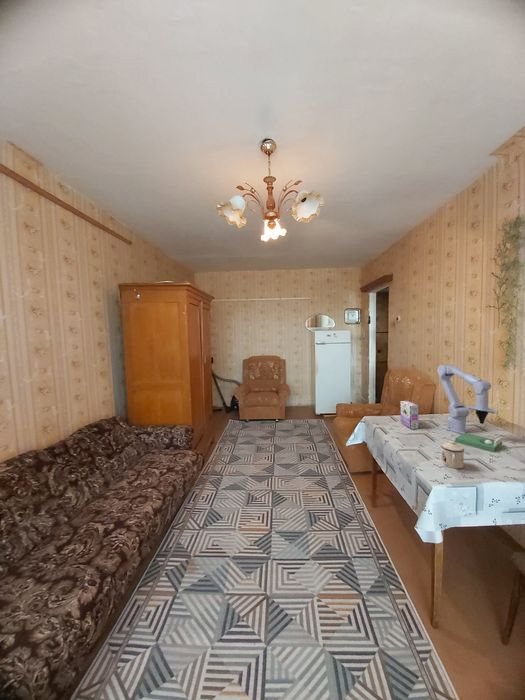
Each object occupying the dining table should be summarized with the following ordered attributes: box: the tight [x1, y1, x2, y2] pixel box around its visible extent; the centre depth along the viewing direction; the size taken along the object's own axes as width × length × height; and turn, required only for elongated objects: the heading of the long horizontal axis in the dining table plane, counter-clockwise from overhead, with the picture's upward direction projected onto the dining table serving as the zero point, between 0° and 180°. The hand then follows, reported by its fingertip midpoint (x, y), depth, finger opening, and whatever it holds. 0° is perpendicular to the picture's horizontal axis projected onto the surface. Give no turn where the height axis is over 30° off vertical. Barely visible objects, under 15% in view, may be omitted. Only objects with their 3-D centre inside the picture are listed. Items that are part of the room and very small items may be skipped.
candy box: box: [399, 400, 420, 430], centre depth 191 cm, size 14×6×16 cm, turn 179°
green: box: [454, 432, 503, 453], centre depth 157 cm, size 18×14×5 cm
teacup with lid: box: [441, 440, 465, 469], centre depth 133 cm, size 12×9×12 cm
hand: (481, 423), depth 163 cm, fingers closed
